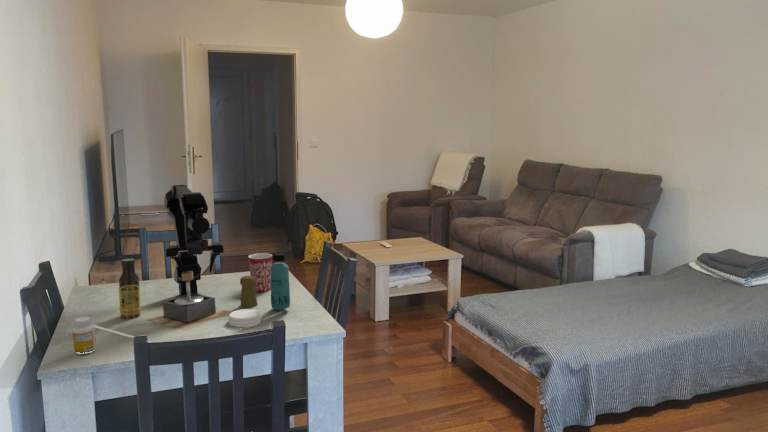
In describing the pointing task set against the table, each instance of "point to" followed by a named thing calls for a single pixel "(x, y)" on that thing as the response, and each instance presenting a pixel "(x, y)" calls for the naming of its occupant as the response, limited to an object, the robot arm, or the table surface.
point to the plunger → (188, 291)
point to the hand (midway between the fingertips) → (196, 273)
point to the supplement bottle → (84, 335)
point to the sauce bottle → (129, 291)
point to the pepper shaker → (248, 292)
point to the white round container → (244, 318)
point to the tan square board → (184, 326)
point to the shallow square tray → (189, 309)
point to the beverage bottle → (279, 283)
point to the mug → (261, 271)
